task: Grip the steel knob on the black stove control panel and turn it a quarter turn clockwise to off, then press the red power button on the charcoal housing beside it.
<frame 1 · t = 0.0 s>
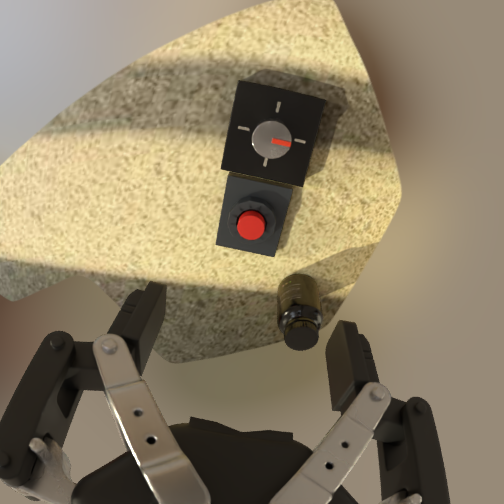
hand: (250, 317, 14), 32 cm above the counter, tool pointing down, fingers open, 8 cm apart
supplement bottle: (297, 288, 53), on the counter
stove panel: (272, 130, 40), on the counter
stove knob: (271, 137, 36), point 5 cm above the counter, hinge at 90.0°
power button: (251, 225, 43), point 4 cm above the counter, slide at 0.2 cm
button housing: (253, 213, 47), on the counter
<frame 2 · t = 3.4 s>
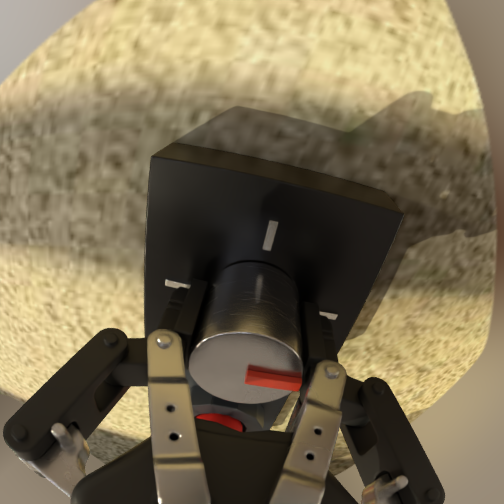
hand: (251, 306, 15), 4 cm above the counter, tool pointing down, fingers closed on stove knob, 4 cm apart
stove panel: (256, 266, 18), on the counter
stove knob: (249, 335, 13), point 5 cm above the counter, hinge at 90.3°, touching gripper
power button: (217, 433, 21), point 4 cm above the counter, slide at 0.2 cm
button housing: (223, 391, 24), on the counter
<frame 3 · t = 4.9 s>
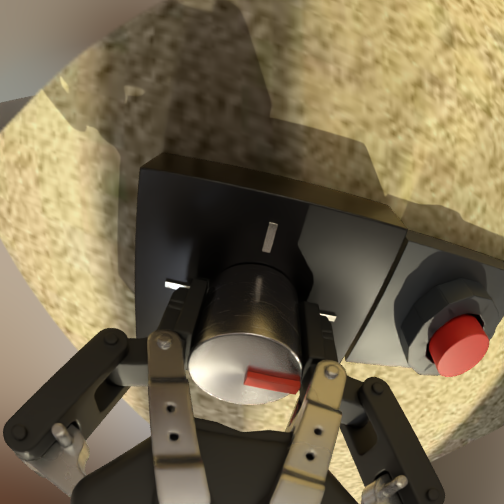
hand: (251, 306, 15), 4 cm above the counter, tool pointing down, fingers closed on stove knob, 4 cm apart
stove panel: (255, 268, 18), on the counter
stove knob: (248, 336, 13), point 5 cm above the counter, hinge at -3.7°, touching gripper
power button: (459, 346, 15), point 4 cm above the counter, slide at 0.2 cm
button housing: (436, 305, 19), on the counter
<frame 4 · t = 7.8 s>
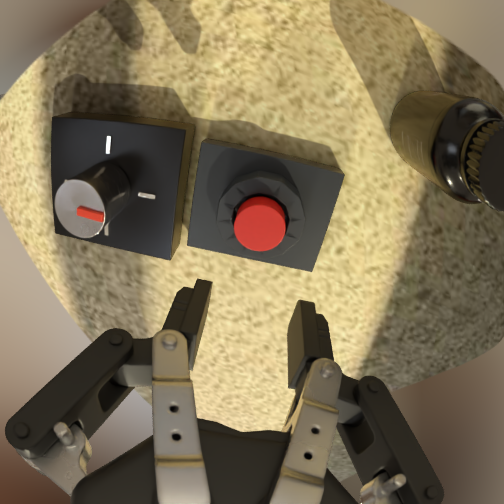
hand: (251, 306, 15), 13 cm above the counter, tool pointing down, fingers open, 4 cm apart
supplement bottle: (422, 129, 22), on the counter
stove panel: (122, 176, 26), on the counter
stove knob: (92, 198, 21), point 5 cm above the counter, hinge at -4.0°
power button: (260, 223, 23), point 4 cm above the counter, slide at 0.2 cm
button housing: (262, 203, 26), on the counter
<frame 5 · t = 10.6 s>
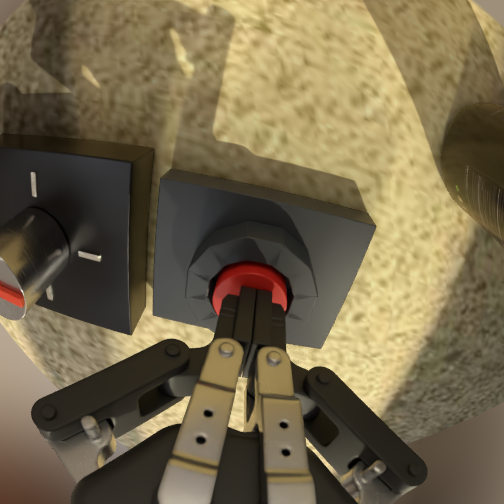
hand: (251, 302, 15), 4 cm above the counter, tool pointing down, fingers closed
supplement bottle: (479, 156, 14), on the counter
stove panel: (66, 220, 18), on the counter
stove knob: (17, 263, 13), point 5 cm above the counter, hinge at -4.0°
power button: (250, 293, 16), point 3 cm above the counter, slide at -0.7 cm, touching gripper
button housing: (254, 260, 19), on the counter
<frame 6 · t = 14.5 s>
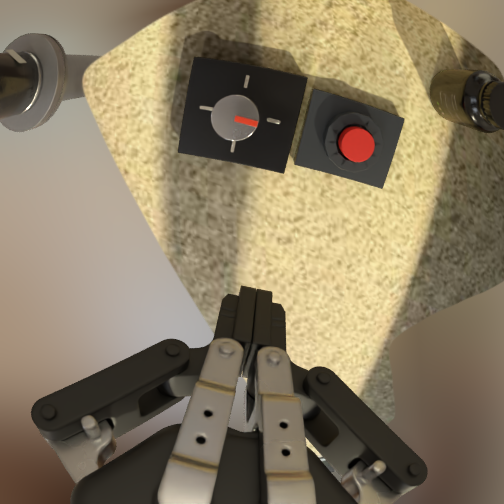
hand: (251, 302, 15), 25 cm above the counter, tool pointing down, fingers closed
supplement bottle: (449, 95, 30), on the counter
stove panel: (242, 111, 34), on the counter
stove knob: (237, 115, 29), point 5 cm above the counter, hinge at -4.0°
power button: (356, 143, 31), point 4 cm above the counter, slide at 0.2 cm
button housing: (348, 137, 34), on the counter
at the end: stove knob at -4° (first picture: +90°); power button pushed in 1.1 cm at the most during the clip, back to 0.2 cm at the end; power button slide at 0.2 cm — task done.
